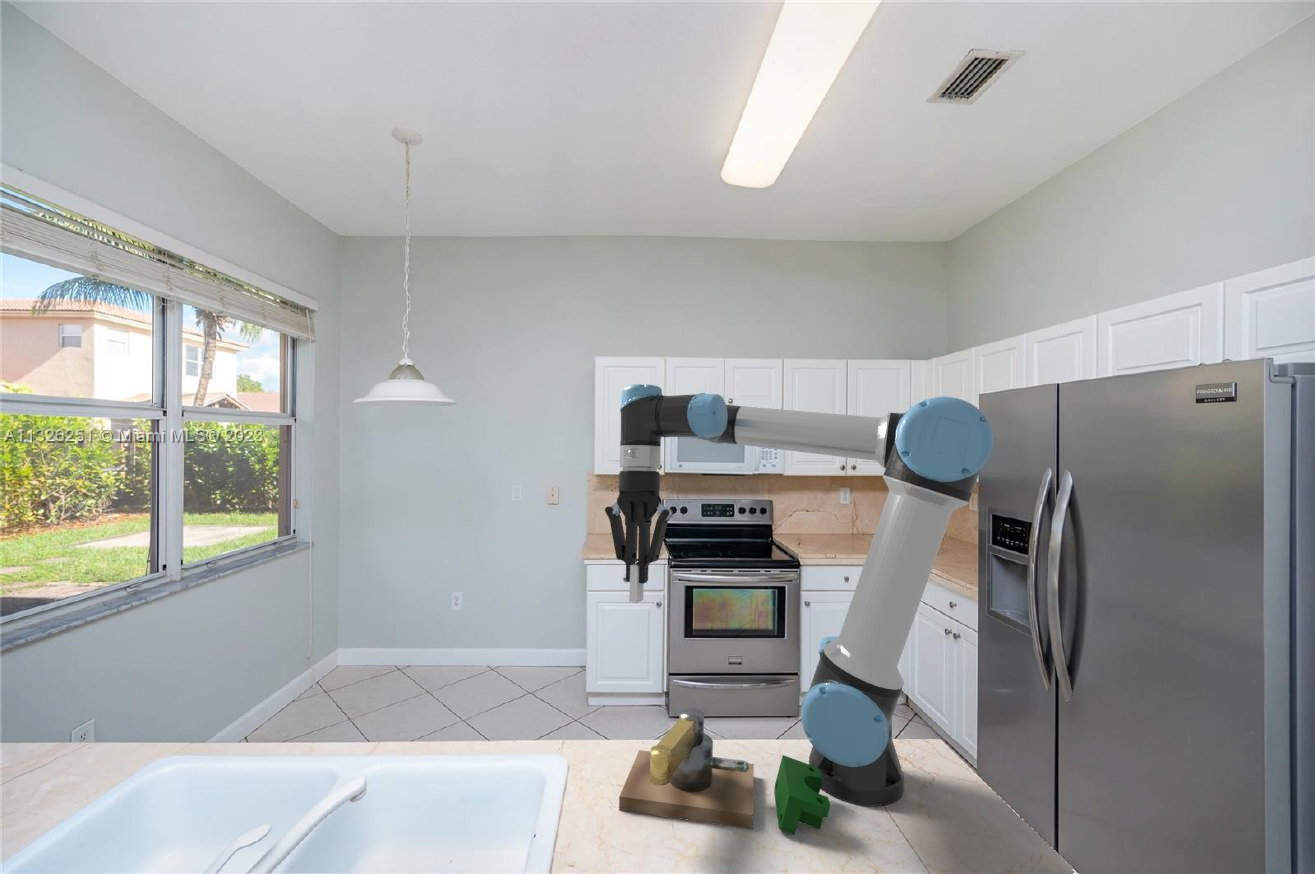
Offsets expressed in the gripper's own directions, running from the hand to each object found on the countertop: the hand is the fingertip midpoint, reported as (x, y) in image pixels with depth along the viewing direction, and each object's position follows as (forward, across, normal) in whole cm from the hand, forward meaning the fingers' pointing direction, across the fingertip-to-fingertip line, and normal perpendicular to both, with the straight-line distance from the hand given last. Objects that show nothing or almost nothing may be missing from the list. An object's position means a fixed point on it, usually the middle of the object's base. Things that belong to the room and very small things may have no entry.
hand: (636, 601), depth 96 cm
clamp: (+29, +29, -2) cm, 41 cm away
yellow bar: (+20, +12, -10) cm, 25 cm away
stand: (+28, +12, -4) cm, 31 cm away
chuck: (+26, +15, -3) cm, 30 cm away
